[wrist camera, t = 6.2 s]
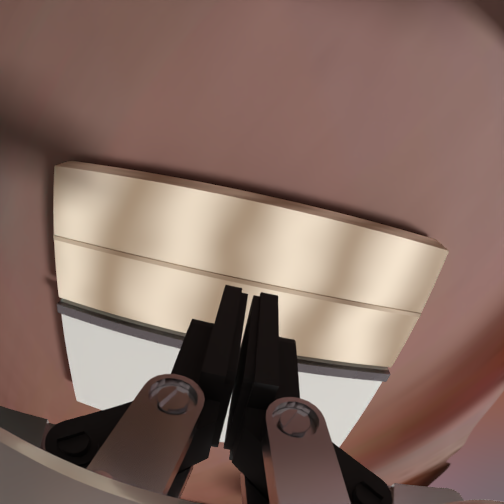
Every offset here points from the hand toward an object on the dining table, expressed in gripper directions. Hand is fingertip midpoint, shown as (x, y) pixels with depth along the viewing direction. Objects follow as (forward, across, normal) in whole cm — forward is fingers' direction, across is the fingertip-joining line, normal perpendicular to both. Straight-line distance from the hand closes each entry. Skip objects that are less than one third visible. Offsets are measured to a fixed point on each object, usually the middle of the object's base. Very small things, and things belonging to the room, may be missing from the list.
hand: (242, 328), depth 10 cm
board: (+11, +1, +14) cm, 18 cm away
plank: (+11, +1, +3) cm, 11 cm away
